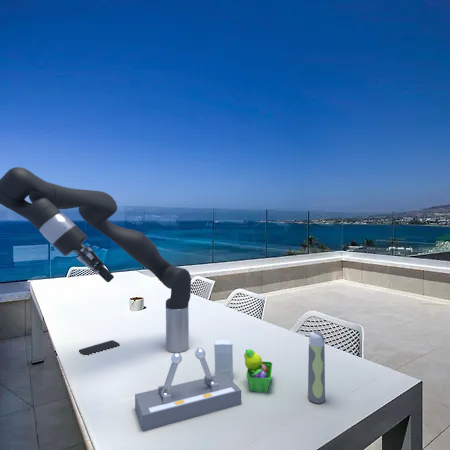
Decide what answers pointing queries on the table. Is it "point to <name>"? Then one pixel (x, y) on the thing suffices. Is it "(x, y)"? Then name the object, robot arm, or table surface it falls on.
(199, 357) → the switch far
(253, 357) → the fruit basket
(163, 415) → the switch console
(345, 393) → the table surface
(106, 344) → the phone
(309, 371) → the camo grip handle
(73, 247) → the robot arm
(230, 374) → the skincare box
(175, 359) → the switch near
